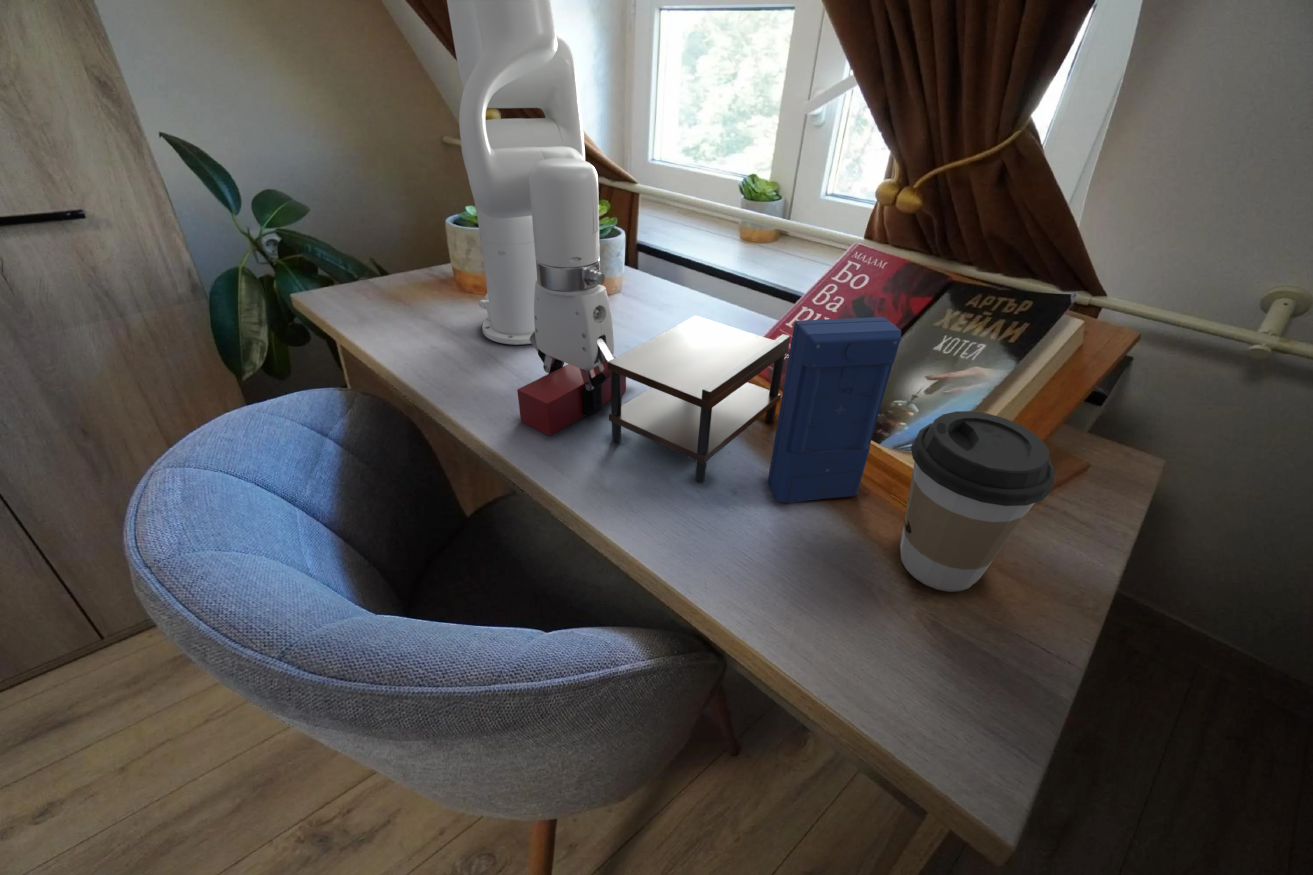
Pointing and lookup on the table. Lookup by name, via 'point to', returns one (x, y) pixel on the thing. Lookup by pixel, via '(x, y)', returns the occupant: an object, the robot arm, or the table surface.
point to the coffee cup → (969, 495)
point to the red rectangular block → (557, 399)
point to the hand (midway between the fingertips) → (575, 402)
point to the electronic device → (830, 406)
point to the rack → (697, 387)
